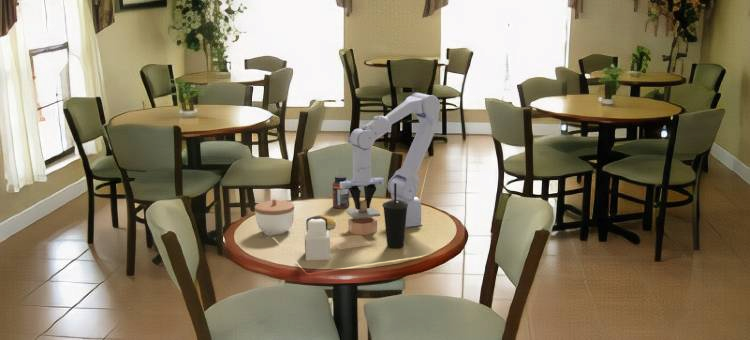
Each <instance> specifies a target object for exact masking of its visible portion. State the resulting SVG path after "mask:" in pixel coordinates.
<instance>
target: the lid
mask: <svg viewBox="0 0 750 340" xmlns="http://www.w3.org/2000/svg"><path fill="white" fill-rule="evenodd" d="M345 212H346V214H347V215H349V217H350V218H353V219H354V218H365V217H374V218H375V217H381V212H379V211H378V210H376V208H375V207H372V206H370V208H367V200H365V199H360V209H359V210H357V209H356V208H349V209H346V208H345Z"/></svg>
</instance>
